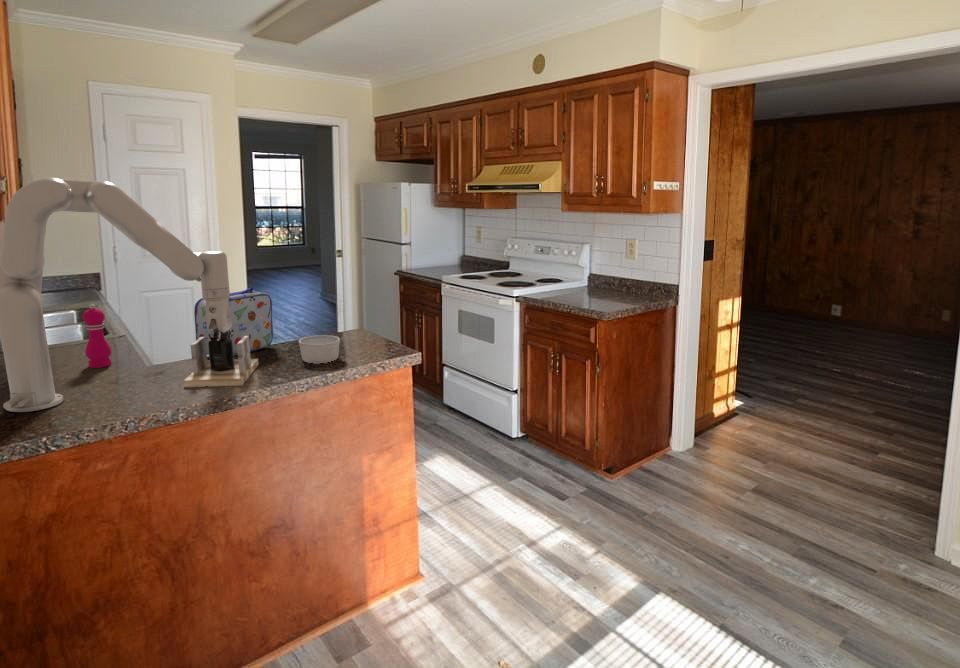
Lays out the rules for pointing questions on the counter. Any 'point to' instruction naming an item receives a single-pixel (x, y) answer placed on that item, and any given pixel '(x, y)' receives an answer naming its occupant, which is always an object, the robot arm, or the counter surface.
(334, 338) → the ramekin
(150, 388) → the counter surface
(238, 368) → the wooden stand
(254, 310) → the lunch box
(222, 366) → the supplement bottle
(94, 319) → the pepper mill
